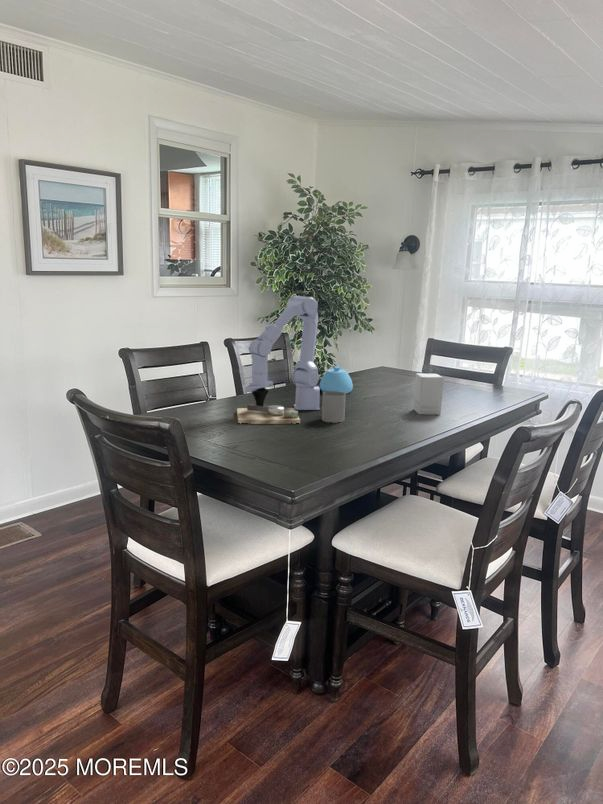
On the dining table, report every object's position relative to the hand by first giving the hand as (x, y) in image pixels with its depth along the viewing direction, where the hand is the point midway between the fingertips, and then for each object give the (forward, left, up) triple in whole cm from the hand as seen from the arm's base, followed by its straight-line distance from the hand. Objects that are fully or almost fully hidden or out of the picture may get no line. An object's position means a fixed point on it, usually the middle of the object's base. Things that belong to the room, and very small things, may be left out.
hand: (259, 408), depth 224 cm
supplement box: (-67, -4, -3) cm, 67 cm away
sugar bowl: (-38, -44, -3) cm, 58 cm away
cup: (-27, +7, -3) cm, 28 cm away
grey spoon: (-2, +2, -1) cm, 3 cm away
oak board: (-3, +3, -3) cm, 5 cm away
